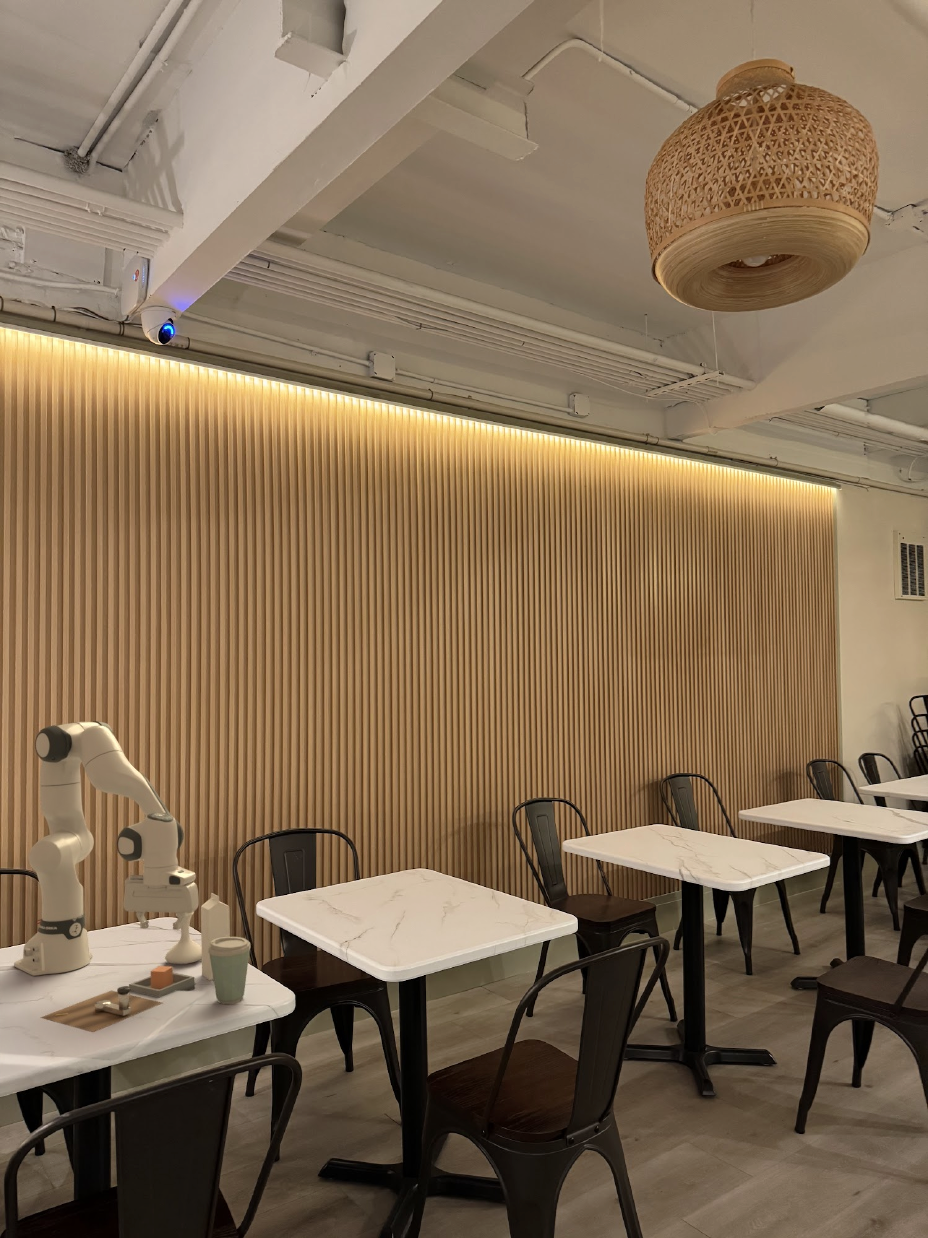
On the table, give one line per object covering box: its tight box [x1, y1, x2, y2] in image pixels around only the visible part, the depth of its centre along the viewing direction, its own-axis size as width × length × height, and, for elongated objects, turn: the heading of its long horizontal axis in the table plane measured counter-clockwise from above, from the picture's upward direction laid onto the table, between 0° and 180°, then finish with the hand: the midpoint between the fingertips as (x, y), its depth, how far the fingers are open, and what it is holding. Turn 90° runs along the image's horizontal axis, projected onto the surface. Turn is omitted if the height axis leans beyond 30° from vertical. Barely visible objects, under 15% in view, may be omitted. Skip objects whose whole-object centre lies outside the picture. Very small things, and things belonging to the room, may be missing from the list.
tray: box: [128, 972, 196, 998], centre depth 231 cm, size 12×12×3 cm
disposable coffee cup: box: [208, 936, 252, 1005], centre depth 224 cm, size 11×11×15 cm
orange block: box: [150, 965, 174, 990], centre depth 231 cm, size 4×4×5 cm
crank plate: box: [40, 990, 163, 1033], centre depth 215 cm, size 20×20×2 cm
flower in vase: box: [164, 911, 202, 965], centre depth 256 cm, size 13×11×25 cm
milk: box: [200, 892, 231, 981], centre depth 244 cm, size 6×6×22 cm
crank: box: [95, 985, 132, 1016], centre depth 214 cm, size 11×4×6 cm, turn 59°
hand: (160, 928), depth 232 cm, fingers open, 8 cm apart
